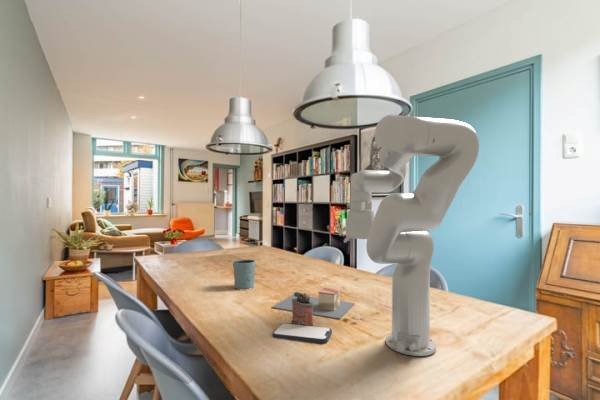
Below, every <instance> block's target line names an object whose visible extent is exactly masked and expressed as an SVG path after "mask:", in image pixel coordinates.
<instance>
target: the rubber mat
mask: <svg viewBox="0 0 600 400" xmlns="http://www.w3.org/2000/svg"><path fill="white" fill-rule="evenodd" d="M295 298H297V297H295V296H294V294H292V295H290V296H288V297H287V298H284V299H283V300H281V301H280V302H278V303H276V304H274V305H273V306H271V309H275V308H276V309H275V310H280V311H282V310H283V311H287V312H292V299H295ZM309 301H310V302H312V303H313V316H316V317H317V316H318V317H324V318H330V319H335V320H341V319H342V318H343V317H344V316H345V315H346V314H347V313H348V312H349V310H351V309H352V308H353V307H354V306H355V304H356V303H355V302H351V301H349V302H348V301H344V300H340V306H339V307H338V308H337V309H336V310H335V311H332V310H325V309H319V297H315V296H310V299H309Z"/></svg>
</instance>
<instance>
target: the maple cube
mask: <svg viewBox="0 0 600 400" xmlns="http://www.w3.org/2000/svg"><path fill="white" fill-rule="evenodd" d="M318 298H319V309H325V310H332V311H335V310H336V309H337V308H338V307H339V306H340V301H341V300H340V299H341V289H339V288H328V287H324V288H322V289H320V290H319V291H318Z"/></svg>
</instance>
